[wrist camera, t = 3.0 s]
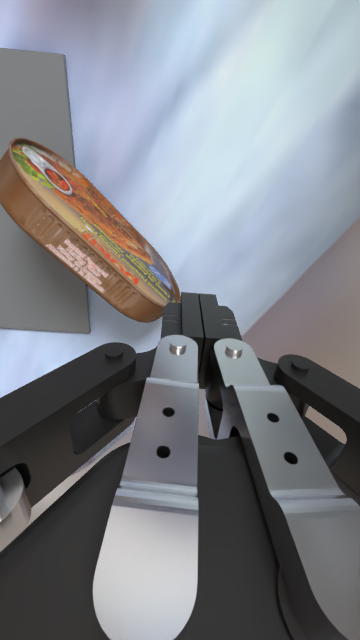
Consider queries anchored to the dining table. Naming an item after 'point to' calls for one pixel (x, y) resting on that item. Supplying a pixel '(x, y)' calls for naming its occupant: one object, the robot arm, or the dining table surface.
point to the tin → (84, 231)
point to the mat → (3, 233)
